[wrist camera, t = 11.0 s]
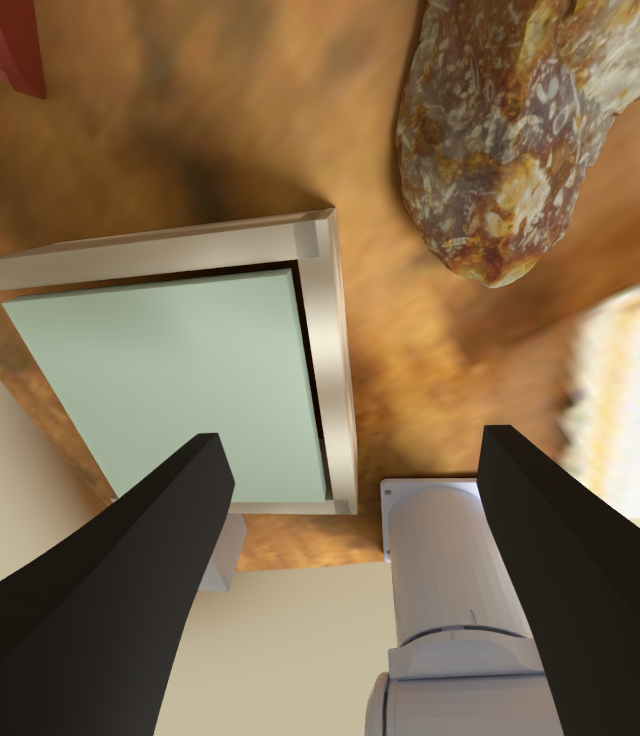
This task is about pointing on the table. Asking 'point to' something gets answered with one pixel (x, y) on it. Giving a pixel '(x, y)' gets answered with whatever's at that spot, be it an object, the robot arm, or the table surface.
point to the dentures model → (20, 48)
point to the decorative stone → (510, 123)
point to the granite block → (225, 555)
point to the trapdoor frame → (232, 248)
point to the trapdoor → (184, 376)
